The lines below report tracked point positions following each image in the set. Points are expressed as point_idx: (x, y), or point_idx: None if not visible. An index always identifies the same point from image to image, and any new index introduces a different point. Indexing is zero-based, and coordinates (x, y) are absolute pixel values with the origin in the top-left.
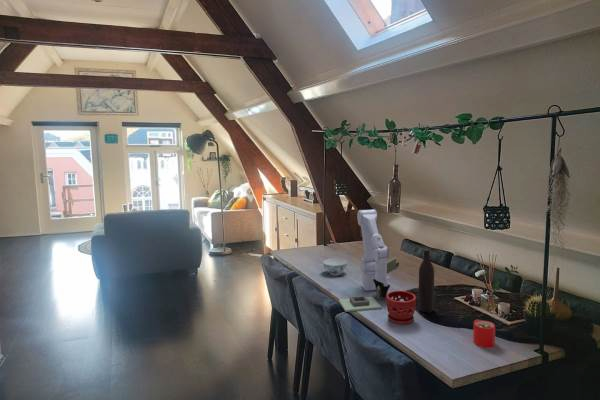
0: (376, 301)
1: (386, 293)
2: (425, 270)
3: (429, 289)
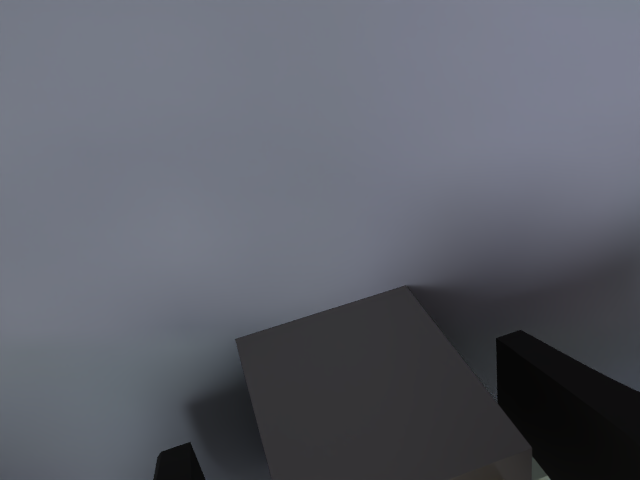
0: None
1: (609, 385)
2: None
3: None
